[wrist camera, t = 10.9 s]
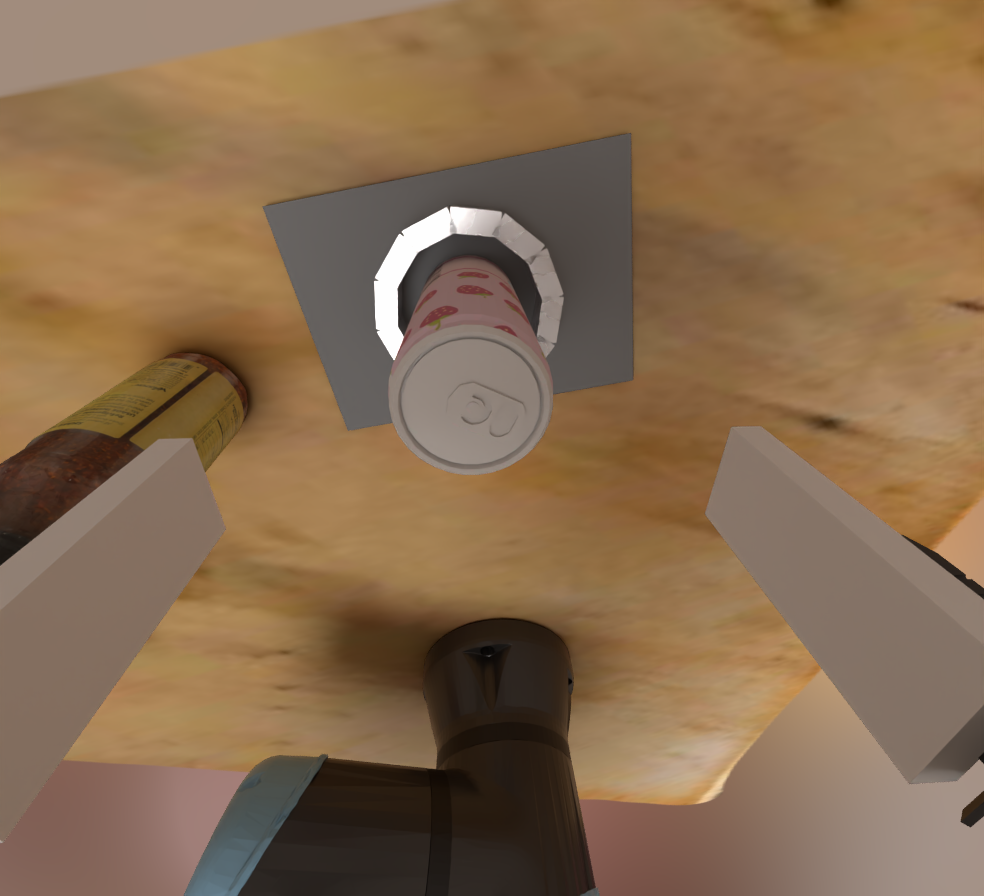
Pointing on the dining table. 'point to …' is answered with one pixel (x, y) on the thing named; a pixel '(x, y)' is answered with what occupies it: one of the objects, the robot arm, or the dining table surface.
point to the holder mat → (494, 185)
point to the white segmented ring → (470, 224)
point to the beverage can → (470, 372)
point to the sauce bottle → (117, 440)
